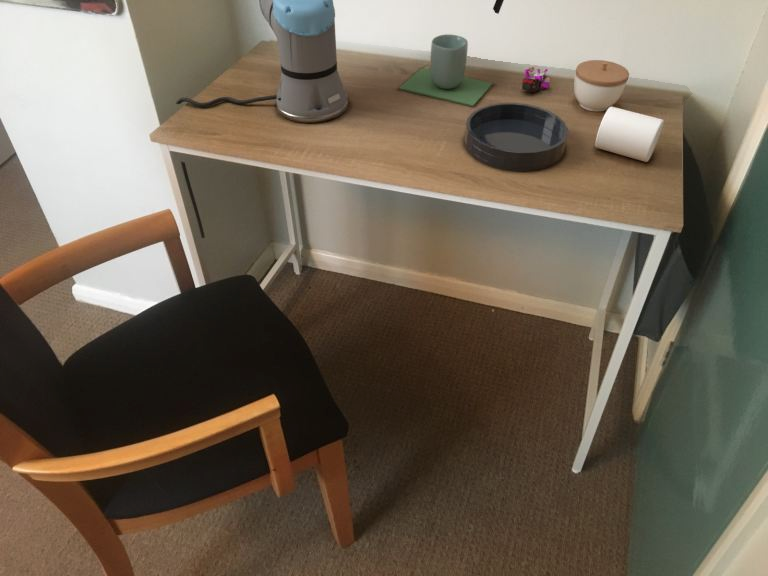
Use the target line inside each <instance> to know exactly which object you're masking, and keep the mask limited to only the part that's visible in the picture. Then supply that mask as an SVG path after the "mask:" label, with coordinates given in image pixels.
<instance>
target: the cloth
mask: <svg viewBox="0 0 768 576" xmlns="http://www.w3.org/2000/svg"><path fill="white" fill-rule="evenodd" d="M493 85H494V83H493V82H489V81H484V80H479V79H476V78H470V77H467V76H463V79H462V81H461V83H460V84H459V85H458V86H457V87H455V88H452V89H442V88H439V87H437V86H436V85H435V84H434V83H433V81H432V78H431V70H430V68H424V67H421V68H420V69H419V70H417V71H416V72H415V73H414V74H413V75H411V76H410V78H409V79H407V80H406V81H405V82H404V83H402V84H401V86H400V87H399V88H398V90H400V91H404V92H409V93H413V94H417V95H421V96H425V97H430V98H434V99H439V100H441V101H446V102H452V103H455V104H459V105H464V106H467V107H475V106H476V104H477V103H478V102H479V101H480V100H481V99H482V98H483V96H484V95H485V94H487V92H488V90H490V89H491V88H492V86H493Z"/></svg>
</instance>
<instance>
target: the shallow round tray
mask: <svg viewBox="0 0 768 576" xmlns="http://www.w3.org/2000/svg"><path fill="white" fill-rule="evenodd" d="M568 138H569V128H568V125H567V124H566V122H565V121H564V120H563V119H562V117H560V116H559V115H557V114H556V113H554V112H552V111H550V110H548V109H545V108H542V107H540V106H536V105H532V104H527V103H521V102H520V103H518V102H497V103H493V104H492V103H491V104H489V105H488V104H487V105H485V106H481V107H479V108H478V109H476V110H473V112H471V113H470V114H469V116H468V117H467V119H466V123H465V131H464V146H465V149H466V150H467V153H469V154H470V156H471V157H472V158H474V159H475V160H477V161H478V162H480V163H482V164H484V165H487V166H489V167H492V168H495V169H499V170H502V171H509V172H533V171H539V170H543V169H546V168H549V167H552V166H553V165H555V164H556V163H558V162H559V161H560V160H561V159H562V158H563V155H564V152H565V149H566V147H567V141H568Z"/></svg>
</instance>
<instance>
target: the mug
mask: <svg viewBox="0 0 768 576" xmlns="http://www.w3.org/2000/svg"><path fill="white" fill-rule="evenodd" d="M664 124H665V121H664V119H661V118H658V117H654V116H650V115H646V114H642V113H640V112H639V113H638V112H635V111H631V110H627V109H623V108H619V107H615V106H610V107H608V109H607V110H605V113H604V115H603V117H602V120H601V122H600V124H599V128H598V129H597V130H598V131H597V134H596V137H595V142H594V145H595V148H596V149H600V150H601V151H602V150H603V151H607V152H610V153H614V154H615V155H621V156H623V157H627V158H631V159H634V160H638V161H640V162H641V161H642V162H645V163H647V162H649V160H650V159H651V157H652V155H653V153H654V151H655V149H656V146H657V144H658V141H659V138H660V136H661V133H662V130H663V128H664Z"/></svg>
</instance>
